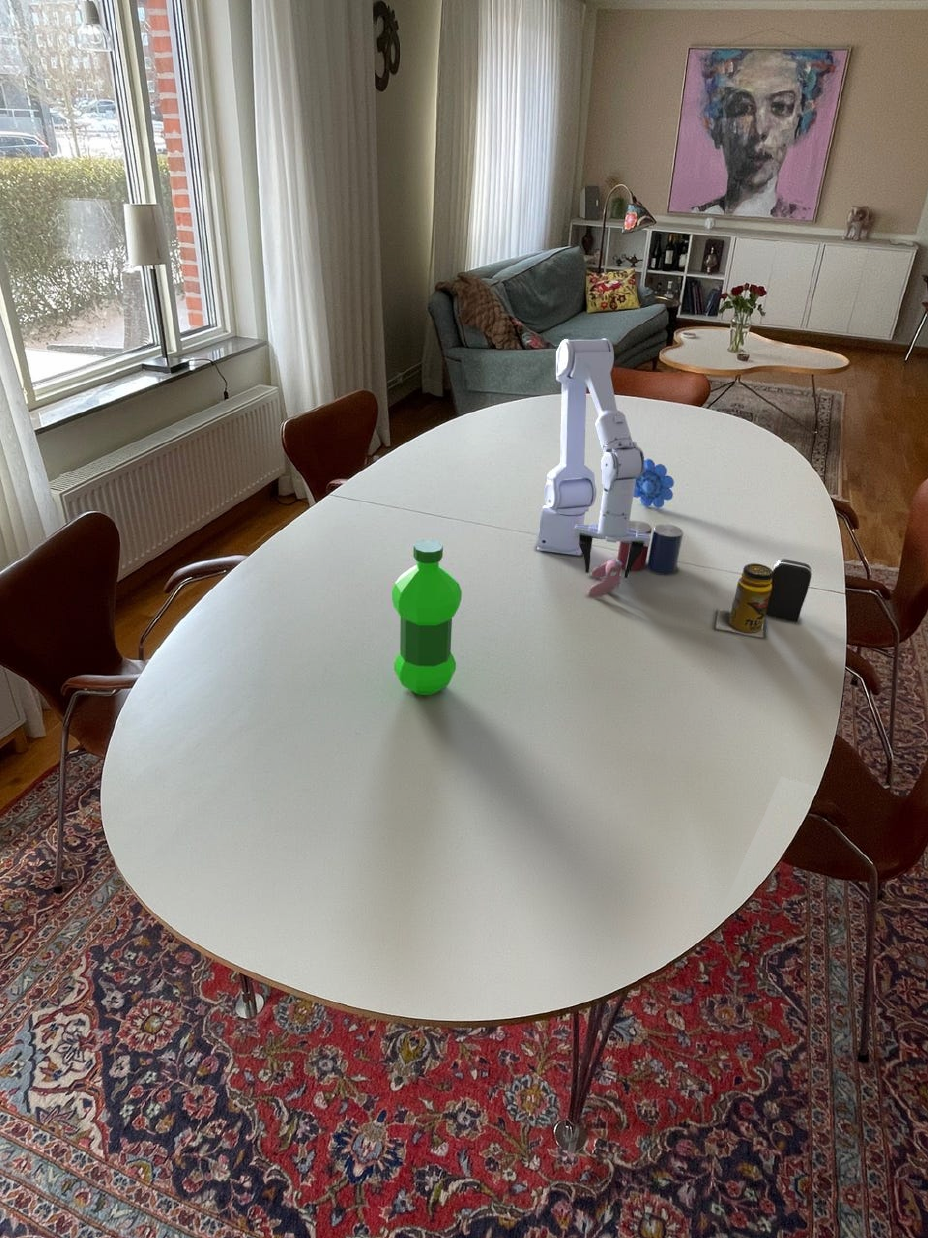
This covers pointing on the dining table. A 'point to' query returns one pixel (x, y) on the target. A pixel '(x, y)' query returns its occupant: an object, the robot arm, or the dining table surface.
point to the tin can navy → (665, 549)
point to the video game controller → (606, 577)
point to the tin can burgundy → (625, 546)
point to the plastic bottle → (426, 621)
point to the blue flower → (653, 485)
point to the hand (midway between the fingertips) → (606, 573)
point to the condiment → (748, 602)
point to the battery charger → (788, 589)
